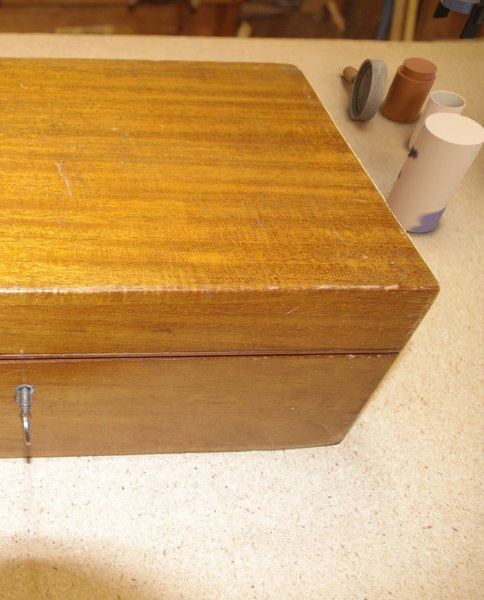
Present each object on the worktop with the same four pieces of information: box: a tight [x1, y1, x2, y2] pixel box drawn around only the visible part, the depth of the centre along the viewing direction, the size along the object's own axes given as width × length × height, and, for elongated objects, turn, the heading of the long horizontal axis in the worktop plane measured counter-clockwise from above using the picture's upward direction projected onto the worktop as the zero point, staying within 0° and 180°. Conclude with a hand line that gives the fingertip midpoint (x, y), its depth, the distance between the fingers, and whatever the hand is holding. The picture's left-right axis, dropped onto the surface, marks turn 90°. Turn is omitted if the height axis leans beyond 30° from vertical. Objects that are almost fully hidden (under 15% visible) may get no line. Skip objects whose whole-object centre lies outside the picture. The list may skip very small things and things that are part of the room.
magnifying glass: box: [342, 58, 388, 122], centre depth 160 cm, size 13×3×25 cm
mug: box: [408, 89, 467, 151], centre depth 148 cm, size 10×7×12 cm, turn 166°
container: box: [385, 113, 484, 233], centre depth 128 cm, size 10×10×20 cm
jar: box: [380, 57, 438, 123], centre depth 157 cm, size 8×8×12 cm
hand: (452, 27), depth 136 cm, fingers closed on lid, 8 cm apart
